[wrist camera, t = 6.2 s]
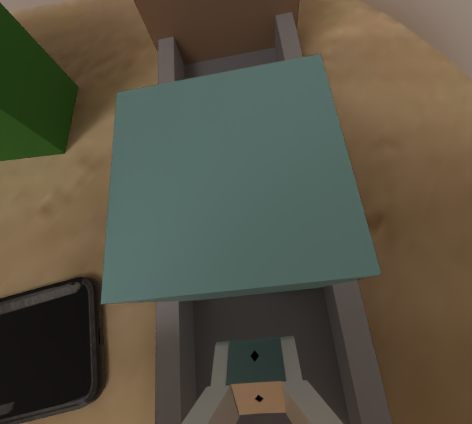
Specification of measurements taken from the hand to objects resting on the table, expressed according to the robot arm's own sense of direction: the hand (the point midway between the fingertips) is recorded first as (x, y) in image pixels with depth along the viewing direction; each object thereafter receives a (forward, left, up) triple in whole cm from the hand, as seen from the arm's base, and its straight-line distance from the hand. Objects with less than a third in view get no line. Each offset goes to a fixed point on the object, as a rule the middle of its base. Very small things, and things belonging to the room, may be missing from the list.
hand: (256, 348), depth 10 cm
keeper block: (0, +6, -4) cm, 7 cm away
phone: (-18, 0, -7) cm, 19 cm away
